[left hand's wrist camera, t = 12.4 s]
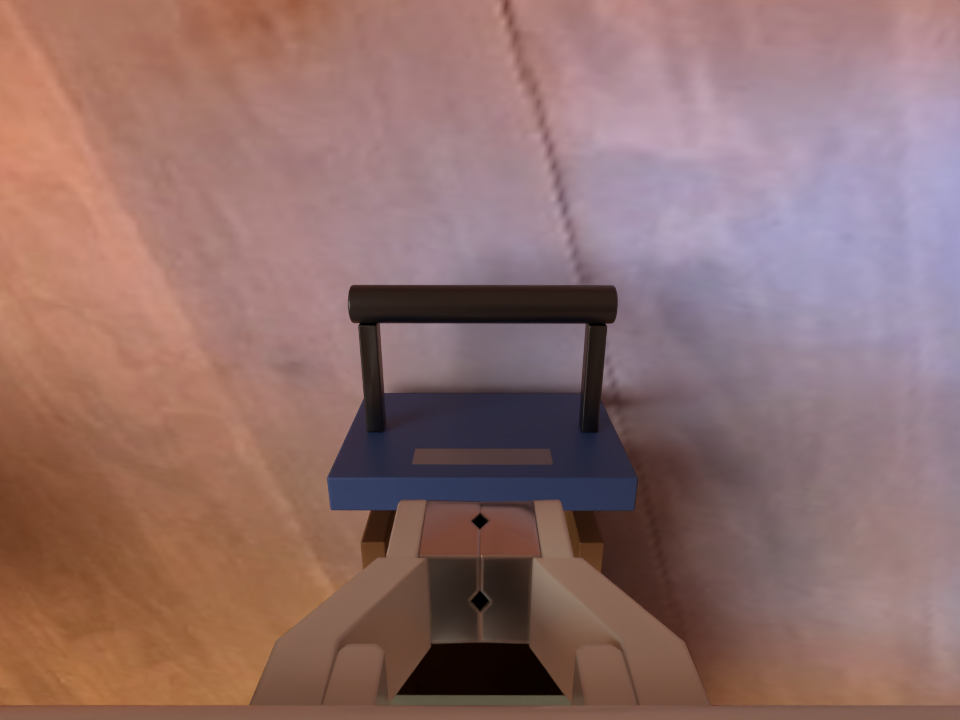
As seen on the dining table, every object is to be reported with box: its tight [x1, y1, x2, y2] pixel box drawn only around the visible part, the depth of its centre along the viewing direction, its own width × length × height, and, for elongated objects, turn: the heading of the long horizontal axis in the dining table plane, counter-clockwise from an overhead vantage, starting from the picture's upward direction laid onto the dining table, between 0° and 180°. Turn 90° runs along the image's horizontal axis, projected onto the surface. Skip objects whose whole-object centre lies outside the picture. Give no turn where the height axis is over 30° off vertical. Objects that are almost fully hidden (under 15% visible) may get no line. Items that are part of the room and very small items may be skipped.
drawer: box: [327, 285, 638, 695], centre depth 22 cm, size 23×9×6 cm, turn 0°
